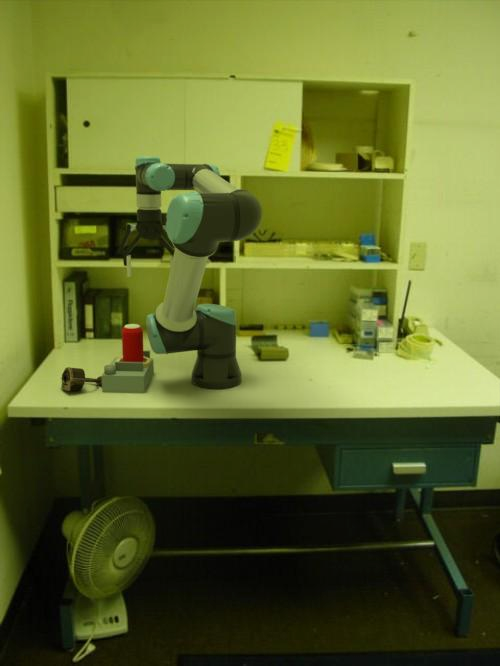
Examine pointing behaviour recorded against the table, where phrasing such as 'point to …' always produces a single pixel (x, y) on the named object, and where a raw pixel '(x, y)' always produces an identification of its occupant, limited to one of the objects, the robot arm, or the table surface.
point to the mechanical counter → (76, 379)
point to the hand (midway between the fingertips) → (150, 276)
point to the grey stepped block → (128, 375)
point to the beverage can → (132, 343)
